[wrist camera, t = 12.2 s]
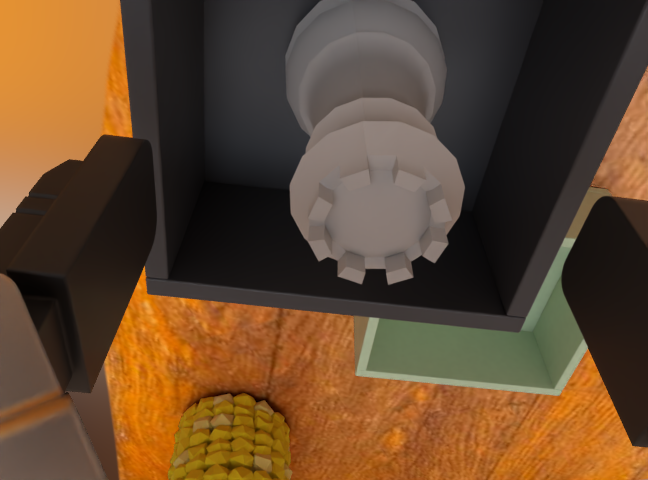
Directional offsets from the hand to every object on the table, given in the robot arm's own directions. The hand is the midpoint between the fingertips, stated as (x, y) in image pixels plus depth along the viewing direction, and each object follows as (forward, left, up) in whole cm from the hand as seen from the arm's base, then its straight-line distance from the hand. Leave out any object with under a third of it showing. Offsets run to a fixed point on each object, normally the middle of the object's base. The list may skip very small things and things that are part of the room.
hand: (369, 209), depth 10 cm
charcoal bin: (0, 0, -8) cm, 8 cm away
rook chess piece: (0, 0, -7) cm, 8 cm away
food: (+36, -4, -20) cm, 41 cm away
